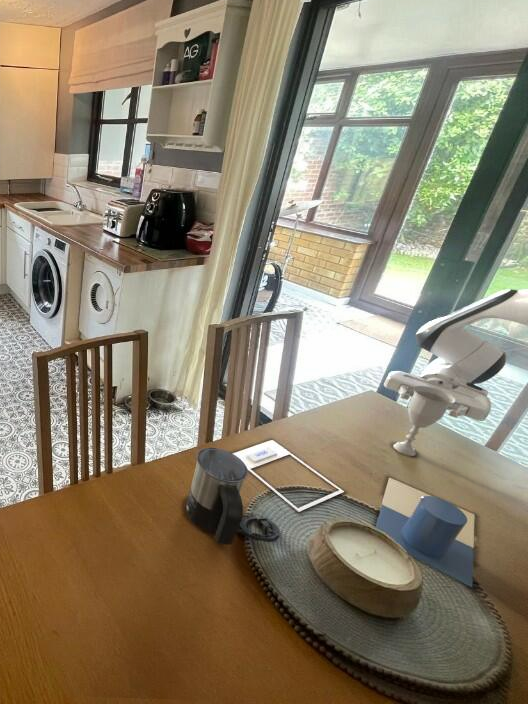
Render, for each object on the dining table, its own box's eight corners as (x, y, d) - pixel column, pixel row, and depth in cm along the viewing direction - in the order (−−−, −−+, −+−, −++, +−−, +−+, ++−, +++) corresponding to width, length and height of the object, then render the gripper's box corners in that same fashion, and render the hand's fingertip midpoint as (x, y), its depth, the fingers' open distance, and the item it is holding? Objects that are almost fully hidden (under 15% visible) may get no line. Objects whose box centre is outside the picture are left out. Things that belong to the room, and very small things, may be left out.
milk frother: (174, 502, 90) (187, 450, 83) (237, 490, 93) (254, 439, 86) (216, 563, 77) (234, 507, 71) (287, 547, 80) (311, 493, 74)
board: (387, 480, 96) (389, 477, 95) (472, 517, 86) (474, 514, 86) (371, 539, 82) (373, 536, 81) (470, 591, 73) (472, 587, 72)
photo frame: (272, 439, 106) (344, 490, 91) (271, 442, 107) (342, 494, 92) (230, 453, 101) (299, 511, 86) (229, 457, 102) (297, 514, 87)
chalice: (416, 448, 105) (447, 390, 98) (426, 466, 100) (461, 406, 92) (380, 440, 108) (408, 383, 100) (389, 456, 102) (419, 397, 95)
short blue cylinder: (424, 527, 83) (444, 496, 79) (454, 557, 77) (477, 525, 73) (392, 527, 83) (411, 495, 79) (420, 557, 77) (441, 524, 74)
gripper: (395, 361, 119) (382, 377, 111) (497, 393, 105) (491, 414, 97) (387, 379, 122) (374, 396, 114) (485, 413, 108) (478, 435, 100)
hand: (428, 405), depth 105 cm, fingers open, 8 cm apart
